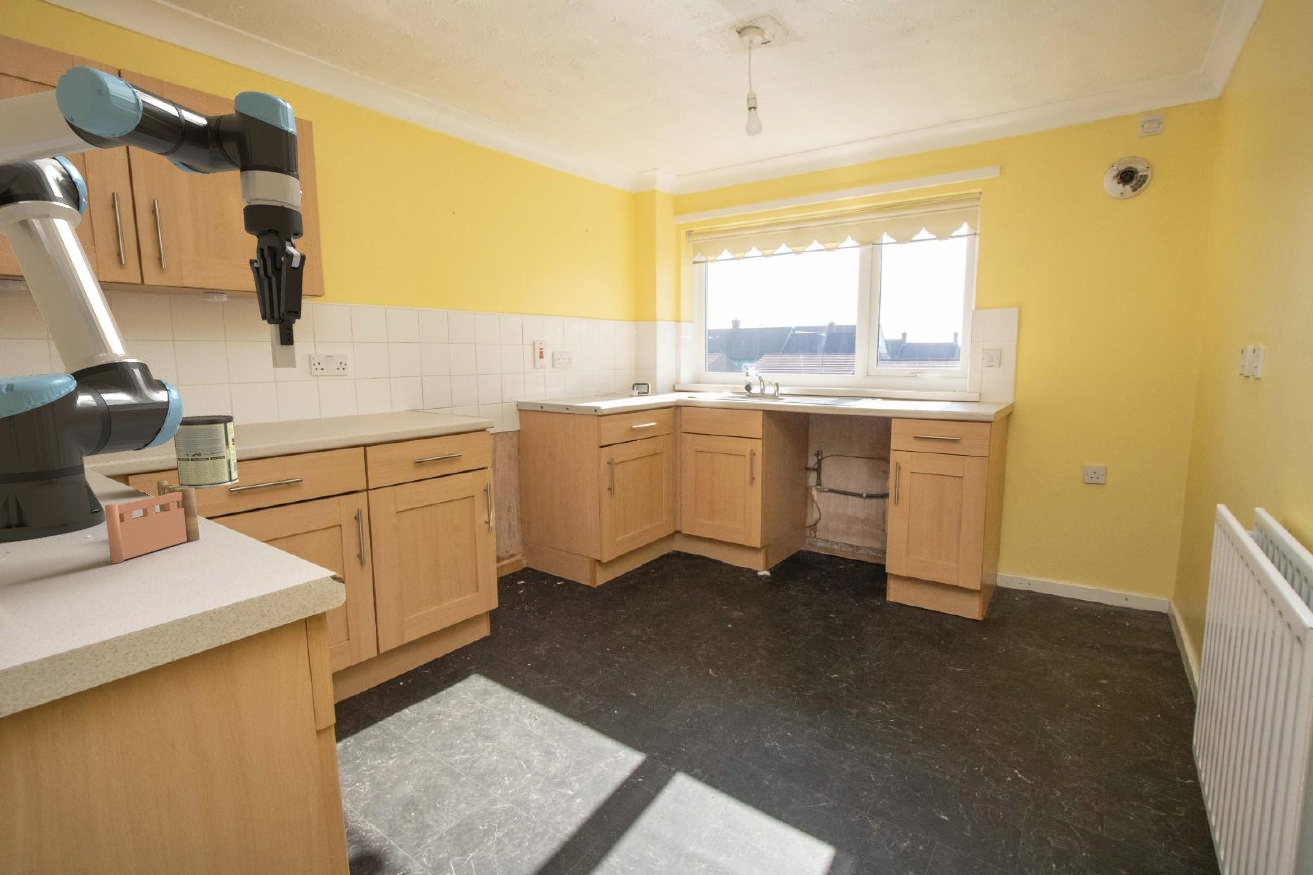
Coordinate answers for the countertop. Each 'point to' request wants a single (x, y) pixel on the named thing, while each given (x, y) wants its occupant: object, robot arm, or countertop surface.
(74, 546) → the countertop surface
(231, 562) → the countertop surface
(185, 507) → the fence anchor
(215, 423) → the coffee can
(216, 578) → the countertop surface
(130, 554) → the fence gate
